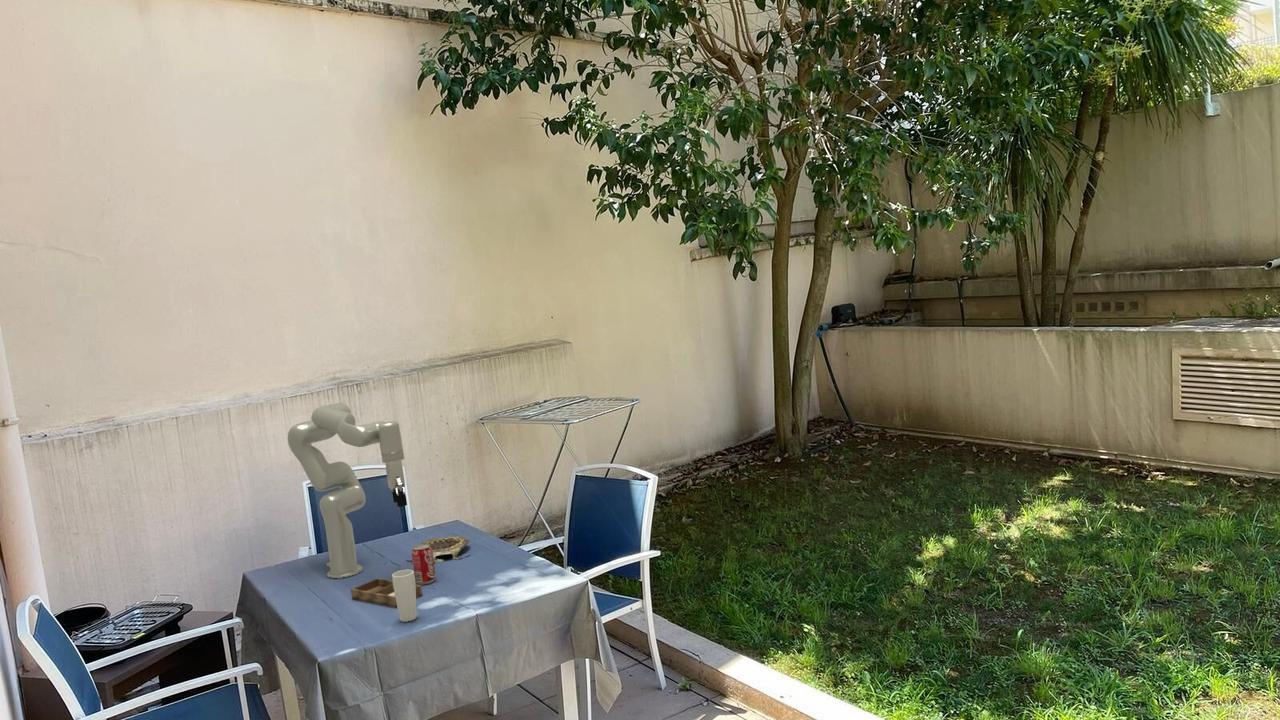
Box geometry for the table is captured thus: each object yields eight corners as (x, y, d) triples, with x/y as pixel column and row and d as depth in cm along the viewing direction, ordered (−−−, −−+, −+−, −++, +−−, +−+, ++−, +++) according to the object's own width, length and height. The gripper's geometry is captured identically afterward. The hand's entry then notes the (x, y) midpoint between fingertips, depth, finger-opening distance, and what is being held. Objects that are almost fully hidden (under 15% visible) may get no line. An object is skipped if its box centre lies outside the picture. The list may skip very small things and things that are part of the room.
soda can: (430, 585, 300) (426, 549, 299) (411, 585, 302) (407, 549, 301) (439, 578, 307) (435, 543, 306) (420, 578, 309) (416, 543, 307)
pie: (394, 557, 339) (393, 545, 339) (455, 539, 357) (454, 528, 357) (429, 570, 318) (428, 557, 318) (492, 550, 337) (490, 538, 336)
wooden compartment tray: (352, 599, 294) (350, 589, 293) (379, 587, 303) (378, 578, 303) (395, 607, 281) (394, 597, 281) (422, 595, 291) (421, 585, 290)
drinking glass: (399, 616, 273) (394, 570, 272) (421, 613, 273) (415, 568, 272) (395, 624, 266) (389, 577, 265) (417, 622, 267) (411, 575, 265)
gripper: (379, 456, 309) (386, 502, 310) (385, 461, 293) (393, 510, 295) (400, 452, 312) (407, 498, 313) (407, 457, 296) (415, 505, 298)
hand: (400, 503), depth 304 cm, fingers open, 9 cm apart
